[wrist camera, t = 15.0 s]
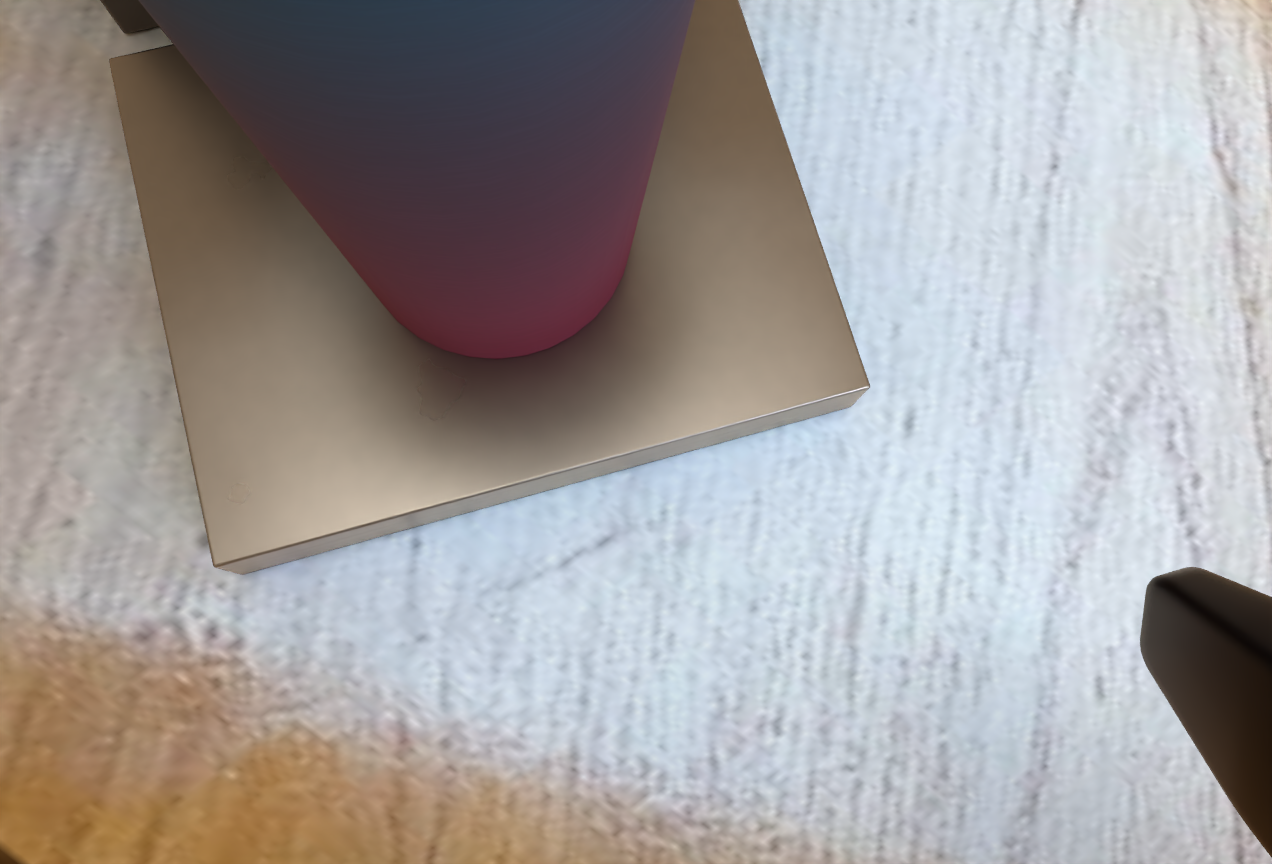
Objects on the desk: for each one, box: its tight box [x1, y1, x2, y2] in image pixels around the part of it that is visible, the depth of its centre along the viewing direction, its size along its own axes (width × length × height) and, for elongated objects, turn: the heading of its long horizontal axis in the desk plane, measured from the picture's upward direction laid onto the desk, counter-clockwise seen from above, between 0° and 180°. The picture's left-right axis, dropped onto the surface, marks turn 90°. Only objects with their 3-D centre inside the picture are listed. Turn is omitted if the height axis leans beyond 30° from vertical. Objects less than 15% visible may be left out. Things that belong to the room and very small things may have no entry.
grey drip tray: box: [109, 0, 870, 575], centre depth 21 cm, size 10×12×2 cm
